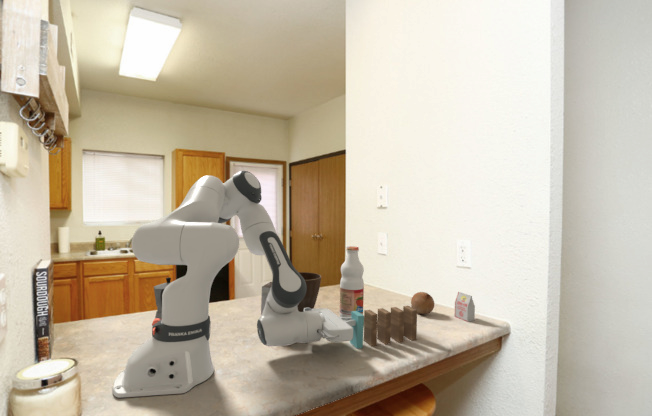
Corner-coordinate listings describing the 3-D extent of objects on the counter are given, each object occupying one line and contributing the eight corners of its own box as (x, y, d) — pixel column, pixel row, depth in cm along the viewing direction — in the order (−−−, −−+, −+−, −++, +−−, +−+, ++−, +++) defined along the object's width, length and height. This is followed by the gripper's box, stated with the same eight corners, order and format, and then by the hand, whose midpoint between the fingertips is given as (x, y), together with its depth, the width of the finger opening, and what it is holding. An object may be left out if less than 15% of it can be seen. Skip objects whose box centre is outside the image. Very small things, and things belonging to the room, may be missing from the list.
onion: (430, 323, 137) (438, 304, 133) (407, 315, 138) (415, 296, 134) (429, 308, 145) (437, 290, 141) (408, 301, 147) (415, 283, 143)
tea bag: (461, 315, 138) (462, 291, 138) (474, 320, 131) (474, 295, 131) (454, 316, 136) (455, 292, 136) (467, 322, 130) (467, 296, 130)
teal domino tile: (356, 348, 103) (358, 316, 103) (350, 342, 108) (351, 311, 108) (362, 347, 104) (364, 315, 104) (355, 341, 108) (357, 310, 108)
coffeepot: (157, 323, 122) (158, 274, 122) (185, 321, 124) (186, 273, 124) (145, 339, 107) (146, 283, 107) (177, 337, 109) (178, 282, 109)
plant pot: (328, 316, 134) (329, 276, 134) (299, 324, 123) (300, 281, 123) (304, 307, 144) (304, 270, 144) (275, 315, 134) (276, 275, 134)
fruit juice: (340, 313, 138) (341, 245, 138) (362, 314, 137) (364, 246, 137) (338, 320, 128) (340, 248, 128) (363, 322, 127) (364, 248, 127)
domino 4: (411, 340, 110) (411, 310, 110) (402, 335, 115) (403, 306, 115) (416, 340, 111) (417, 309, 111) (407, 334, 115) (408, 305, 115)
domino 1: (371, 346, 105) (371, 314, 105) (363, 340, 109) (364, 310, 109) (376, 345, 105) (377, 314, 105) (369, 339, 110) (369, 309, 110)
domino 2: (385, 344, 107) (385, 313, 107) (377, 338, 111) (377, 308, 111) (390, 343, 107) (391, 312, 107) (382, 338, 112) (383, 308, 112)
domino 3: (398, 342, 108) (398, 311, 108) (390, 337, 113) (390, 307, 113) (403, 341, 109) (404, 311, 109) (395, 336, 114) (395, 307, 114)
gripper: (324, 327, 91) (369, 322, 96) (302, 306, 110) (341, 302, 115) (324, 350, 91) (369, 344, 96) (302, 325, 110) (340, 320, 115)
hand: (353, 321), depth 106 cm, fingers closed
